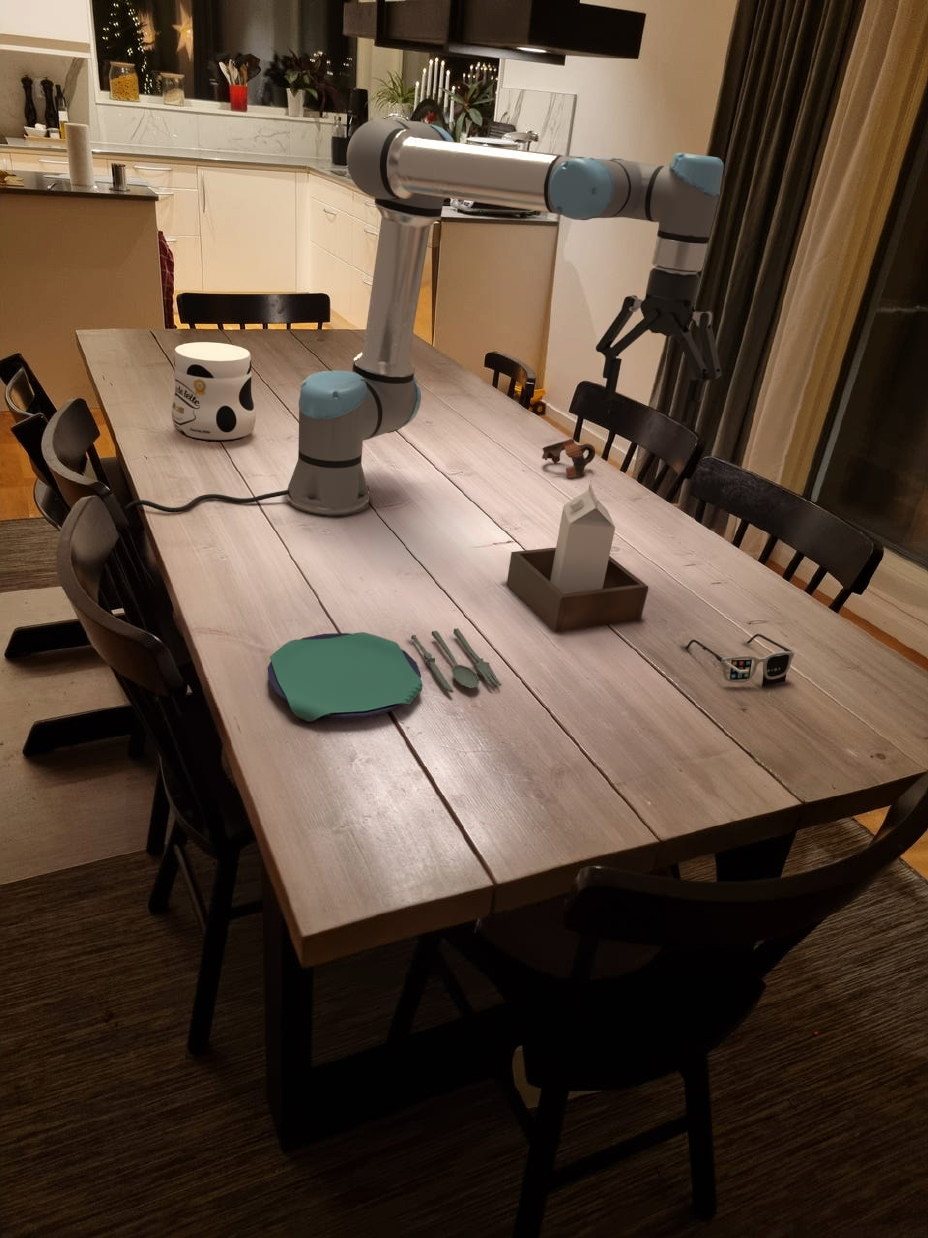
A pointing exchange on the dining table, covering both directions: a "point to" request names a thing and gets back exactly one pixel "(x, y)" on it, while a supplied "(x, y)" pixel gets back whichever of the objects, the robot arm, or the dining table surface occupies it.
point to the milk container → (213, 392)
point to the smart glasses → (772, 664)
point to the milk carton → (582, 545)
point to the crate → (576, 609)
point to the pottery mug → (570, 455)
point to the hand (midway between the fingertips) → (646, 410)
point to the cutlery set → (358, 674)
